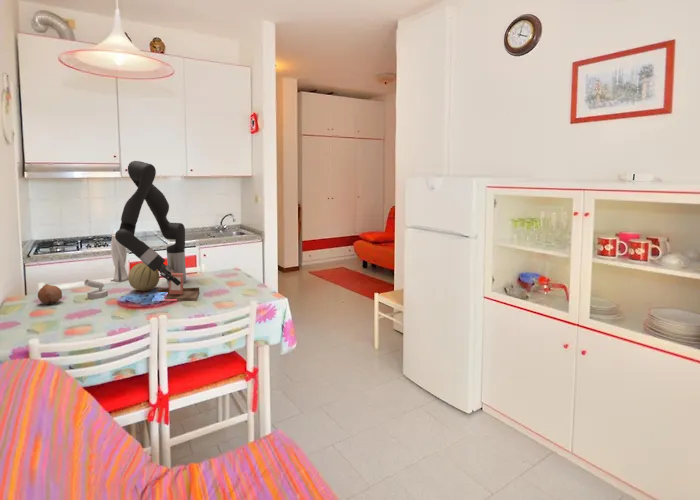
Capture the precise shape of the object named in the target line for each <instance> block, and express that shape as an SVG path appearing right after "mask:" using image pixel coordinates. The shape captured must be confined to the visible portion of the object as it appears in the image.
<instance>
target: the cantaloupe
mask: <svg viewBox="0 0 700 500" xmlns="http://www.w3.org/2000/svg"><path fill="white" fill-rule="evenodd" d="M127 275H128V280H127V281H128V283H129V285H130V286H131V287H132V288H133V289H135V290H137V291H141V292H147V291H151V290H153V289H155V288H156V287H157V286H158V284H159V281H160V277H161V275H160V272H159V271H158V270H156V271H153V270H151V269H150V268H149V267H148V266H147V265H145V264H144V263H143V262H140V263H137V264H135V265H134V266H132V268H130V270H129V272H128V274H127Z"/></svg>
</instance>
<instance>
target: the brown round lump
mask: <svg viewBox="0 0 700 500" xmlns="http://www.w3.org/2000/svg"><path fill="white" fill-rule="evenodd" d="M62 298H63V292H62V290H61V288H60V287H59V286H57V285H49V284H47V283H45V284H44V285H42V287H41V288H39V290H38V292H37V299H38V300H39V301H40V302H41V303H43V304H46V305H54V304H57V303H58V302H59V301H60V300H61V299H62Z"/></svg>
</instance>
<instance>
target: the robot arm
mask: <svg viewBox="0 0 700 500" xmlns="http://www.w3.org/2000/svg"><path fill="white" fill-rule="evenodd" d="M156 173H157V171H156V168H155V166H154V165H153V164H152V163H148V162H143V161H140V160H133V161H131V162H129V164H128V165H127V174H128V175H129V178H130V179H131V181H132V182H133V184H134V185H135V186H136V187H137V189H136V190H135V192H134V193H133V194H131V197H129V198H128V200H127V201H126V202H125V204H124V207H123V210H122V213H121V218H120V221H121V223H120V225H119V229H118V230H117V231H116V232H115V233H116V234H115V233H114V235H115V238H116V240H117V241H118V242H119V243H120V244H121V245H123V246H124V247H126V250H129V251H130V252H131V253H132V254H134V255H135V257H137V258H138V259H139V260H140V262H141V263H144V264H145V265H147V266H148V267H149V268H150V269H151V270H153V271H156V270H158V271H159V276H160V277H162V278H163V279H166V282H167V283H168V284H169V281H172V282H174V283H175V284H176V285H177V286H178V285H179V284H180V283H181V282H180V281H179V280H178V279H176V278H175V277H174V276H173V275H172V273H183V284H184V283H186V282H187V270H186V269H187V267H186V249H185V248H186V229H185V225H184V224H183V223H181V222H170V221H169V219H168V218H167V217H168V216H167V215H168V214H169V212H170V211H169V210H170V204H169V202H168V200H167V198H166V196H165V195H164V193H163V192H162V191H161V190H160V189H158V188H157V187H156V185H155V184H153V183H154V181H155V178H156ZM144 202H146V205H147V206H148V208H149V210H150V211H151V213H152V215H153V217H154V218H155V219H154V220H156V223H157V225H158V227H159V230H160V233H161V234H162V236H163V237H164V238H165V239H167V240H172V241H175V242H174V244H172V245H169V246H166V259H167V265H166V264H165V262H166V259H165V258H164V257H162V256H161V255H160V254H159V253H158V252H157V251H155V250H154V249H152V248H151V247H150V246H149V245H147V243H145V242H144V241H142V240H140V239H139V238H137V237H136V236H135V232H136V227H137V222H138V220H139V217H140V213H141V209H142V207H143V204H144ZM169 276H170V277H169Z"/></svg>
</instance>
